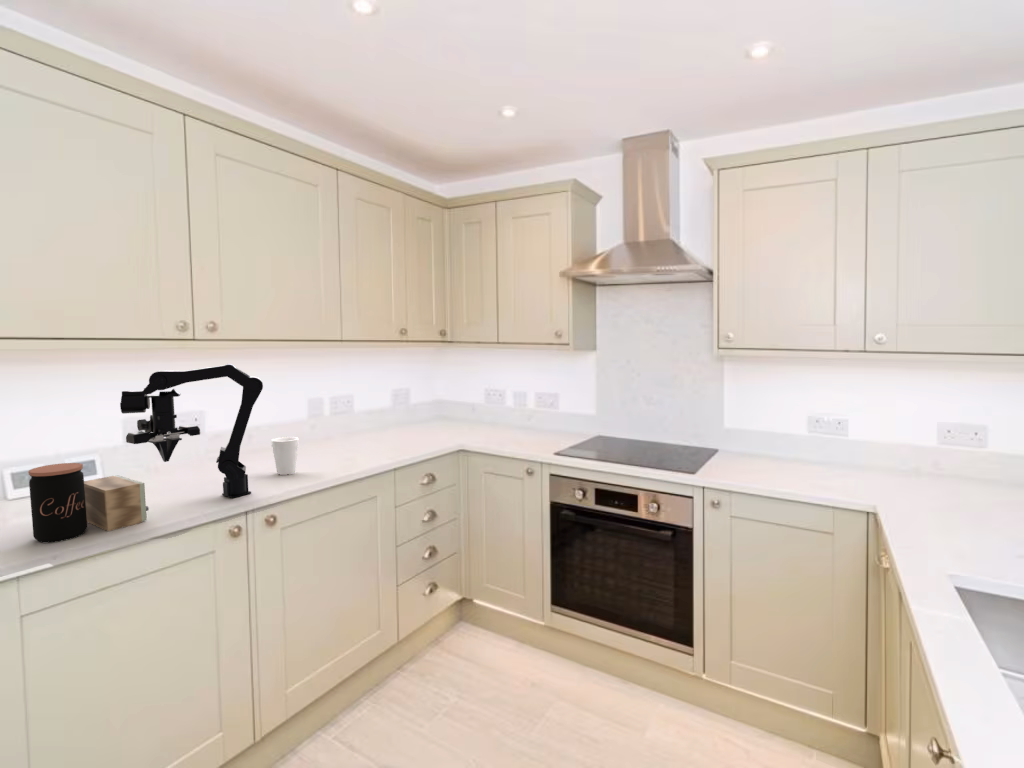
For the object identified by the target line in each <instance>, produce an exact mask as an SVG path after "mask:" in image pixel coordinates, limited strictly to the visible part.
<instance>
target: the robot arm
mask: <svg viewBox="0 0 1024 768" xmlns="http://www.w3.org/2000/svg"><path fill="white" fill-rule="evenodd" d="M225 377H226V378H229V379H230V380H232V381H233V382H235V383H236V384H238V385H239V386H241V387H242V392H241V393H242V394H241V401H240V402H241V403H240V406H239V409H238V412H237V415H236V417H235V418H236V419H235V422H234V425H233V428H232V431H231V433H230V434H231V435H230V438H229V441H228V442H227V444H226V446H225V447H223V446H221V447H220V449H219V455H218V456H217V458H216V461H215V462H216V463H217V469H218V472H221V473H222V474H224V477H223V481H222V493H221V495H222V496H225V497H228V498H231V499H234V498H238V497H241V496H245V495H250V494H252V491H250V490H249V476H248V474H247V473H246V471H247V470H246V468H247V467H246V465H245V464H243V463H242V462H240V461H239V460H240V451H241V445H242V442H243V439H244V436H245V432H246V430H247V426H248V423H249V419H250V417H251V414H252V411H253V407H254V405H255V404H256V402H257V400H258V399H259V397H260V395H261V393H262V391H263V388H264V384H263V381H262V379H261V378H260V377H258V376H255V375H253V376H251V375H249V374H248V373H247V372H244V371H242V370H241V369H239V368H237V367H236V366H235V365H234V364H232V363H227V364H223V365H218V366H211V367H210V366H209V367H203V368H196V369H189V370H173V369H172V370H166V369H165V370H158V371H155V372H153V373H152V374H150V376H149V378H148V384H147V385H146V386H145V388H143V390H122V391H121V398H120V402H119V407H120V412H121V414H141V413H142V414H143V413H146V411H147V410H150V408H151V414H150V416H149V420H147V419H146V418H144V419H137V422H136V427H137V430H138V431H134V432H133V431H132V432H128V433H127V434H126V436H125V440H126V441H125V442H126V443H129V444H133V445H140V444H146V443H151V444H153V446H155V448H156V449H157V451H158V453H159V455H160V456H161V457H160V458H161V459H162V461H163V462H164V463H166V462H169V461H170V459H171V457H172V454H173V453H174V450H175V449H176V447H177V445H178V443H180V441H182V440H183V438H182V437H180V435H186V434H187V435H188V436H190V437H193V436H200V435H201V428H200V427H199V426H198V425H193V424H186V425H180V426H178V427H176V419H177V418H178V417H177V414H175V402H174V401H175V399H174V397H175V398H176V397H180V396H181V395H182V394H181V393H180V392H179V391H177V390H176V388H174V387H177V386H180V385H183V384H187V383H193V382H200V381H207V380H212V379H219V378H220V379H221V378H225ZM171 388H173V389H172V390H171V391H170V390H168V391H165V390H167V389H171ZM157 391H159V394H153V393H155V392H157ZM150 399H151V400H150Z"/></svg>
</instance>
